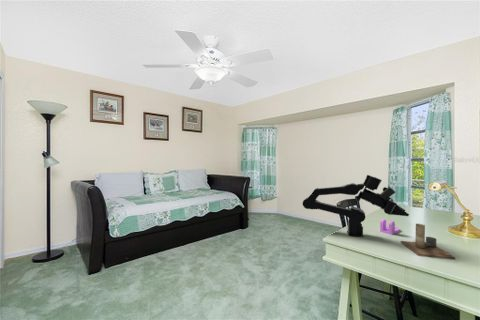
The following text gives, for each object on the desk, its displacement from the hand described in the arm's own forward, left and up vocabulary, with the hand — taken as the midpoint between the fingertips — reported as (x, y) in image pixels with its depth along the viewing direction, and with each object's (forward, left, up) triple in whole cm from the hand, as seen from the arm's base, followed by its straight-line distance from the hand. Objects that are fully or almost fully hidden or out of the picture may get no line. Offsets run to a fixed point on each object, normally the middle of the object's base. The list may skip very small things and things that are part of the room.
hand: (406, 213), depth 105 cm
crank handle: (+5, -6, -13) cm, 15 cm away
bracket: (+1, +18, -15) cm, 23 cm away
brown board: (+4, -8, -14) cm, 17 cm away
